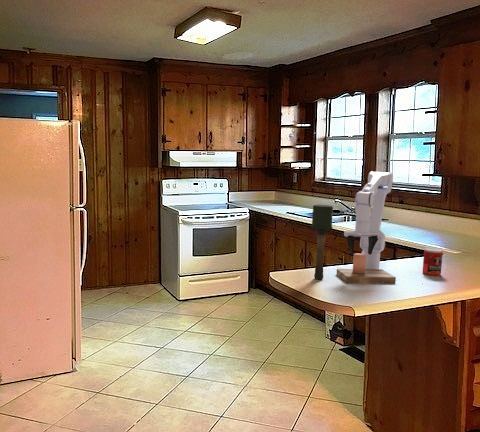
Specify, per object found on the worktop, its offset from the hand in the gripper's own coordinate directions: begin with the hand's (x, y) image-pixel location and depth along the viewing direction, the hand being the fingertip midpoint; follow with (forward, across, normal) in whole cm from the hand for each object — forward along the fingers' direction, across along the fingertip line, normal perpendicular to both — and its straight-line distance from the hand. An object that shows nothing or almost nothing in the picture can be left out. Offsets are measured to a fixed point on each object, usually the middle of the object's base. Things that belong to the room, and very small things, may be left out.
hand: (360, 254), depth 215 cm
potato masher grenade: (+11, -17, -1) cm, 20 cm away
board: (+10, +3, 0) cm, 11 cm away
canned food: (+11, +37, +10) cm, 39 cm away
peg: (+10, 0, 0) cm, 10 cm away
